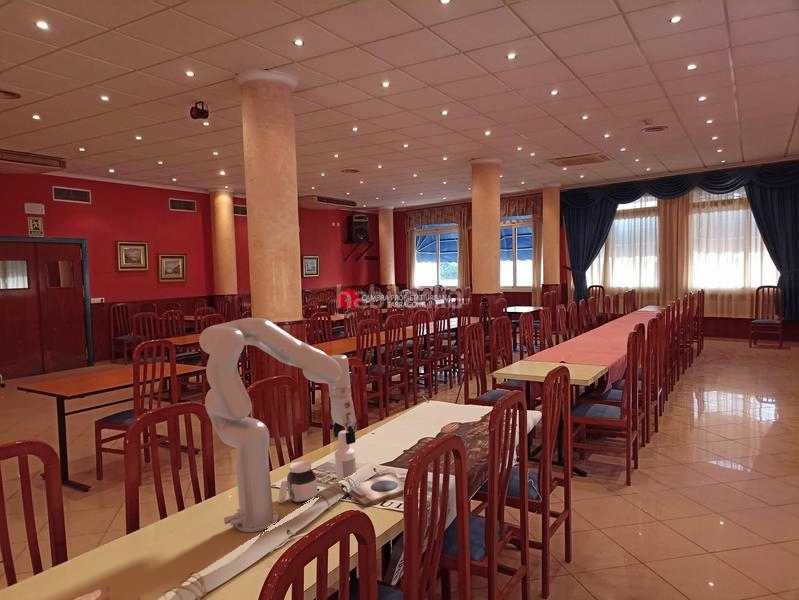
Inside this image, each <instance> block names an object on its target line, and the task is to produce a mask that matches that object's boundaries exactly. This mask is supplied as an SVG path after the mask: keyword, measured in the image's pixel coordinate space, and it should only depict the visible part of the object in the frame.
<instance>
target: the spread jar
mask: <svg viewBox="0 0 799 600" xmlns="http://www.w3.org/2000/svg"><path fill="white" fill-rule="evenodd" d="M287 492H288V493H287ZM287 494H288V498H289V499H290V501H291V502H292V503H293V504H296V505H304V504H303V503H305V502H307V501H308V500H310V499H312V498H313V497H315V496H316V497H317V496H318V482H317V475H316V473H315V472H314V470H313V469H312V463H311V462H310V461H308V460H302V461H301V460H300V461H296V462H293V463H291V464H290V465H289V472H288V473H287V476H286V480H282V481H281V483H280V488H279V491H278V496H277V497H278V499H277V501H278V504H279V503H280V504H284V502H285V500H286V497H287Z"/></svg>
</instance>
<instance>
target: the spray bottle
mask: <svg viewBox="0 0 799 600" xmlns="http://www.w3.org/2000/svg"><path fill="white" fill-rule="evenodd" d="M345 433H347V432H346V430H343V431H340V432H339V433H338V437H337V442H338V444H337V446H338V447H337V450H336V451H334V461H335V472H336V473H335V474H336V482H337V481H339V480H341V479H343V478H345V477H348V476H350V475H352V474H353V473H355V472H356V473H357V466H356V464H357V463H356V452H355V450H354V448H352V447H351V444H346V435H345Z"/></svg>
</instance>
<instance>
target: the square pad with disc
mask: <svg viewBox="0 0 799 600" xmlns="http://www.w3.org/2000/svg"><path fill="white" fill-rule="evenodd" d="M363 481H364V482H362V481H361V482H362V483H361V484H360V485H358V486H357V487H354V488H351V491H350V492H349V495H350V496H349V495H348V496H349V497H351V498H352V497H353V498H354V499H355V501H356V500H357V501H358V502H359V504H360V505H361V506H362V507H364V508H367V507H370V506H373V505H376V504H379V503H382V502H386V501H389V500H391V499H395V498H397V497H400V496H401V497H402V496H404V495H403V489H404V481H403V480H401V479H399V478H398V477H396V476H395V475H393V474H391V473H390V472H389V473H385V474H382V475H378V476H375V477H372V478H369V479H366V480H363ZM353 498H352V499H353ZM354 499H353V500H354ZM357 501H356V502H357ZM358 502H357V503H358Z"/></svg>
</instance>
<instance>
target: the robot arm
mask: <svg viewBox="0 0 799 600" xmlns="http://www.w3.org/2000/svg"><path fill="white" fill-rule="evenodd" d="M198 341H199V346H200V348H201V350H202V351H203V352H204V353H206V354H209V357H208V360H207V363H206V367H205V368H206V369H205V373H206V379H207V382H208V384H209V387H210V389H208V391H207V393H206V396H205V398H204V406H205V410H206V412H207V415H208V417H209V419H210V421H211V423H212V425H213V428H214V429H215V431H216V434H217V435H218V437H219V439H220V441H222V442H223V443H224V444H225V445H227V446H230V447H232V448H234V449H237V456H236V458H235V459H236V460H235V475H236V486H237V493H238V494H237V495H238V506H239V509H236V512H235V513H234V515H228V516H226V517H223V524H224V525H228V524H230V526H234V525H235V529H236V530H237V531H239V532H242V533H258V532H261V530H262V531H264V530H263V529H265V528H267V527H268V526H270V525H271V524H273V523H275V522H276V521H277V520H278V521H280V514H279V513H278V512H277V511H276V510H274V506H273V496H272V484H271V483H272V482H271V474H270V473H271V472H270V462H269V448H270V447H269V446H270V432H269V429H268V427H267V425H266V424H265V423H263V421H261V420H259V419H256V418H253V417H249V415H250V414H251V410H252V400H251V398H250V395H249V393H248V392H247V389H246V387H245V385H244V382H243V381H242V377H241V375H240V373H239V370H238V362H239V358H240V355H241V354H242V352H243V350H244V349H245V348H244V347H245V346H246V345H248V346H254V347H257V348H259V349H260V350H261V351H263V352H265V353H267V354H268V355H269V356H272V357H273V358H275V360H278V361H279V362H281V363H283V364H285V365H288V366H290V367H291V366H292V367H296V368H298V369H302V375H303V376H304V378H305V379H307V380H309V381H311V382H314V383H323V384H327V385H328V386H327V387H328V396H329V398H330V415H331V420H332V426H333V434H334V435H333V437H334V438H338V433H339V432H340V431H346V432H347V433H345V435H346V444H350V445H351V444H354V443H356V433H355V432H356V421H357V419H356V413H355V407H354V402H353V398H352V388H351V387H352V386H351V377H350V367H349V366H350V365H349V359H348V356H347V355H345V354H334V355H333V354H332V355H328V354H326V353H325V352H324V351H322V350H320V349H318V348H315V347H313V346H311V345H310V344H307V343H305V342H304V341H301V340H299V339H298V338H295V337H294V336H293V335H292V334H290V333H288V332H286V331H285V330H284V329H282V328H281V327H279V326H278V325H277V324H275V323H274V322H272V321H270V320H268V319H266V318H263V317H246V318H245V317H244V318H241V319H237V320H236V319H235V320H231V321H228V322H224V323H219V324H214V325H211V326H208V327H206V328H205V329H204V330H203V331H202V332H201V333H200V336H199V340H198ZM343 427H344V429H343ZM265 530H266V529H265Z"/></svg>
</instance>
